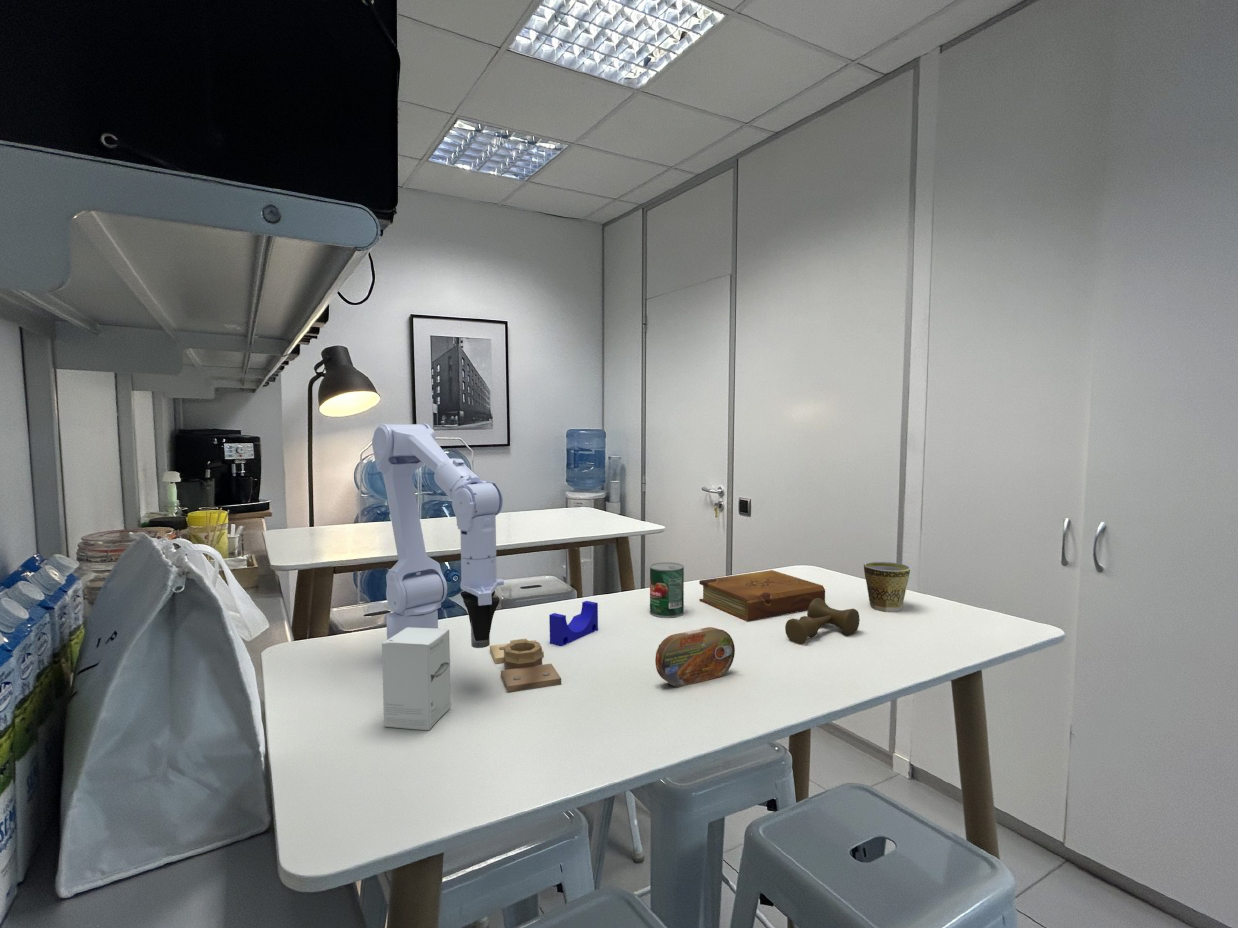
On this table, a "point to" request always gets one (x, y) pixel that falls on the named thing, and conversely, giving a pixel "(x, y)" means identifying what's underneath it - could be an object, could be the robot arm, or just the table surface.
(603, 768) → the table surface
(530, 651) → the hinge leaf
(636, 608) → the table surface
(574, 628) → the blue u-shaped block
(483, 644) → the grey cylinder
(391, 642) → the supplement box
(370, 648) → the table surface
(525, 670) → the hinge plate
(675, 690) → the table surface
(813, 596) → the diary
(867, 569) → the ceramic cup
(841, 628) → the kendama
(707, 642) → the tin
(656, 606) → the canned tomato
